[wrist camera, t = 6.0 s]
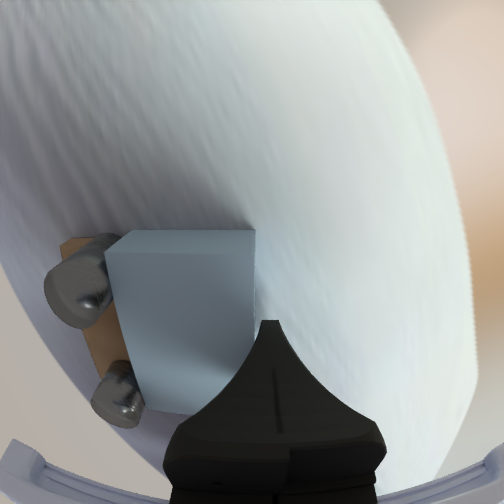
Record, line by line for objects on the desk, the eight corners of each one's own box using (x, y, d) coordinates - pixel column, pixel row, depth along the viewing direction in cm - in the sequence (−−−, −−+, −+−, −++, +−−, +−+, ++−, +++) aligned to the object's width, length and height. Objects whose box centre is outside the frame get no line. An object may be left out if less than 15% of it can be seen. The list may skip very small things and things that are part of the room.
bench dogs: (161, 382, 14) (144, 432, 11) (110, 374, 14) (87, 418, 11) (131, 232, 11) (89, 268, 8) (70, 233, 11) (23, 265, 8)
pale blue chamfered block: (254, 381, 14) (252, 418, 12) (159, 375, 14) (147, 409, 12) (255, 229, 11) (254, 254, 9) (131, 229, 11) (104, 252, 9)
